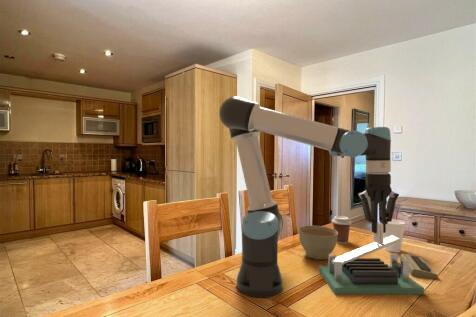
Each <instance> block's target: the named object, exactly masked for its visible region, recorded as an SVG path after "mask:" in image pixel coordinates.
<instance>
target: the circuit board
mask: <svg viewBox="0 0 476 317" xmlns="http://www.w3.org/2000/svg"><path fill="white" fill-rule="evenodd" d="M388 267H390V265H388ZM318 272H319V274H320V276H321V277H322V278H323V279H324V281H325V282H326V284H327V285H328V287H329V288H330V290H331V291H332V292H333V295H425V287H423V286H422V285H421V284H419V283H418V282H416V281H415V280H414V279H412V278H411V277H410V276H409V281H402V280H401V279H399V278H398V285H354V284H353V283H352V282H351V280H350V279H349V278H348V277H347V276H346V275H345V274H344V272H343V271H342V281H335V279H334V274H335V273H329V271H328V265H318Z"/></svg>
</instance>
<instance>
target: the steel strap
mask: <svg viewBox="0 0 476 317" xmlns="http://www.w3.org/2000/svg"><path fill="white" fill-rule="evenodd" d="M398 242H400V239H399V238H397V237H395V236H394V235H391V236H388V237H386V238H383V243H376V242H375V241H373V242H371V243H369V244H367V245H364V246H362V247H359V248H356V249H354V250H351V251H348V252H346V253H344V254H342V255H339V256H335V258H332V259H331V262H332V263H333V265H334V266H335V261H341V262H342V265H343V264H345V263H348V262H350V261H353V260H355V259H358V258H364V257H365V256H367V255H370V254H373V253H375V252H377V251H380V250H382V249H384V248H385V247H388V246H390V245H393V244H395V243H398Z"/></svg>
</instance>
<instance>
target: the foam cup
mask: <svg viewBox="0 0 476 317" xmlns="http://www.w3.org/2000/svg"><path fill="white" fill-rule="evenodd" d="M405 229H406V222H405V221H402V220H401V219H395V218H394V219H393V218H392V221H391V222H388V223H387V224H386V232H385V233H383V238H386V237H388V236H391V235H394V236H395V237H397V238H399V239H400V242H398V243H395V244H393V245H390V246H388V247H385V248H383V249H384V250H385V251H386V252H389V253H397V254H398V253H400V252H401V250H402V244H403V240H404V235H405V234H404V233H405Z"/></svg>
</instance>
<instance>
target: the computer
mask: <svg viewBox="0 0 476 317" xmlns="http://www.w3.org/2000/svg"><path fill="white" fill-rule="evenodd" d="M399 260H400V261H401V260H407V261H409V275H411V277H416V278H426V279H433V280H437V279H438V278H439V277H438V274H437V273H436V272H435V270H434V269H433V268H432V267H431V266H430V265H429V263H427V262H426V261H425V260H424V258H423V257H421V256H416V255H414V254H408V253H401V254H400V256H399Z"/></svg>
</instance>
